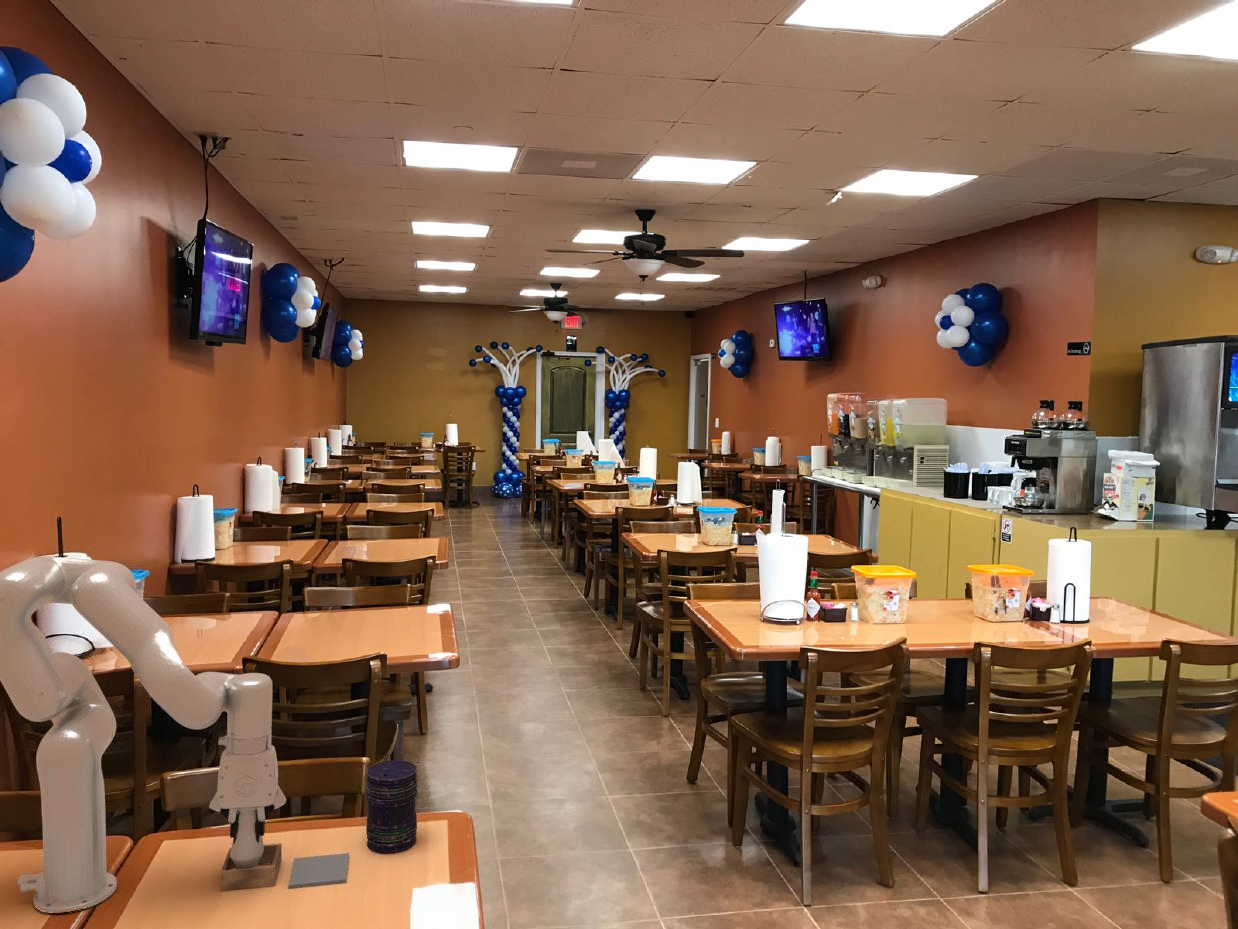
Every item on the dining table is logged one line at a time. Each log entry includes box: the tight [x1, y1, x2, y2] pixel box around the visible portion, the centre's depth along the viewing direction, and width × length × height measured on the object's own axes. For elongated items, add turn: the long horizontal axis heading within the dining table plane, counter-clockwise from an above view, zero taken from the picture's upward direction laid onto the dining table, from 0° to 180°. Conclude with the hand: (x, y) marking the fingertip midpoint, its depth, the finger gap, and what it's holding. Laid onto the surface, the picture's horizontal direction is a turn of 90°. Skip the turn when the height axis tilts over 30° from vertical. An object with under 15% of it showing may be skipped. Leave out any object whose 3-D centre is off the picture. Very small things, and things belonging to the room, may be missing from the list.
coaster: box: [287, 852, 350, 889], centre depth 171 cm, size 10×10×1 cm
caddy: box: [219, 842, 283, 892], centre depth 169 cm, size 9×9×4 cm
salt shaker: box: [230, 807, 265, 869], centre depth 168 cm, size 6×6×13 cm
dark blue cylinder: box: [365, 759, 418, 855], centre depth 182 cm, size 10×10×15 cm
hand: (247, 839), depth 168 cm, fingers closed on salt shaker, 3 cm apart
